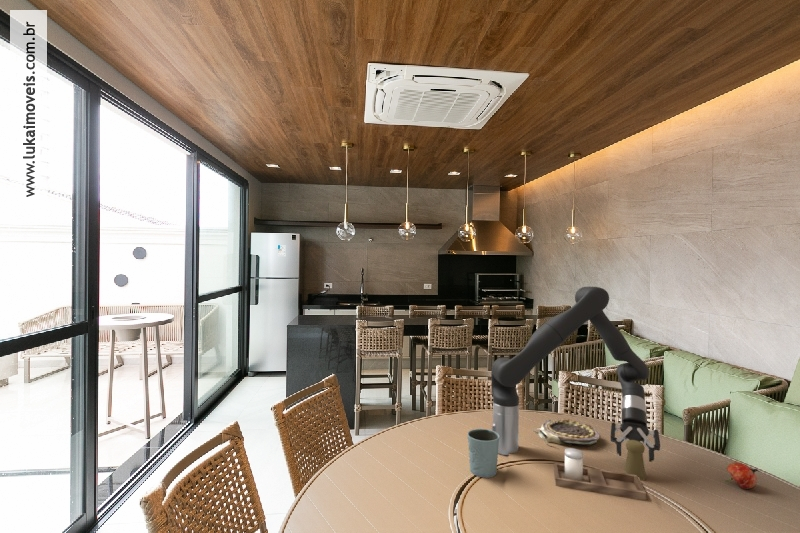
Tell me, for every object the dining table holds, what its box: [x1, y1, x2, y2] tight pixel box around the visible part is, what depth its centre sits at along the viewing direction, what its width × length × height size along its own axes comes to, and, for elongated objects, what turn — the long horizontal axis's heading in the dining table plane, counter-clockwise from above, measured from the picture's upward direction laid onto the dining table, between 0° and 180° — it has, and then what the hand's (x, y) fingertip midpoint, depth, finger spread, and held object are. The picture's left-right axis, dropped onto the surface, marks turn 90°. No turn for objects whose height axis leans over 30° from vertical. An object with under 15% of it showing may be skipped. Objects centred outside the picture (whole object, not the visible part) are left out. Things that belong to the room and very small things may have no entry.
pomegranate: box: [724, 461, 760, 490], centre depth 126 cm, size 7×7×10 cm
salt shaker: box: [564, 447, 584, 481], centre depth 126 cm, size 5×5×9 cm
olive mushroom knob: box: [624, 439, 646, 481], centre depth 131 cm, size 6×6×11 cm
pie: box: [533, 418, 601, 450], centre depth 161 cm, size 28×27×5 cm
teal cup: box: [467, 428, 499, 478], centre depth 132 cm, size 10×10×12 cm
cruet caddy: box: [553, 462, 647, 501], centre depth 124 cm, size 24×11×3 cm, turn 72°
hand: (635, 457), depth 131 cm, fingers open, 8 cm apart
